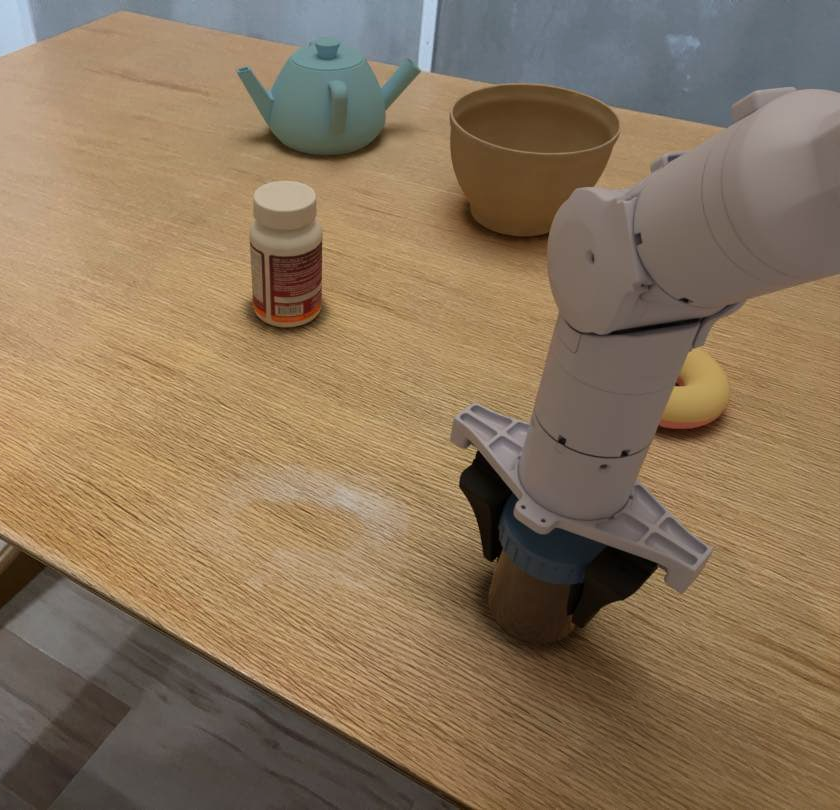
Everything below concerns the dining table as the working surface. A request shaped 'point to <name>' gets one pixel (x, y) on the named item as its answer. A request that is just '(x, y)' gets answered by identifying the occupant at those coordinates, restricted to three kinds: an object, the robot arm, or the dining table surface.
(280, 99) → the teapot
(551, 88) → the planter bowl
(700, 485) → the dining table surface
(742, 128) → the robot arm
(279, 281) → the pill bottle
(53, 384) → the dining table surface
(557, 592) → the jar
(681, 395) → the donut
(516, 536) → the lid
